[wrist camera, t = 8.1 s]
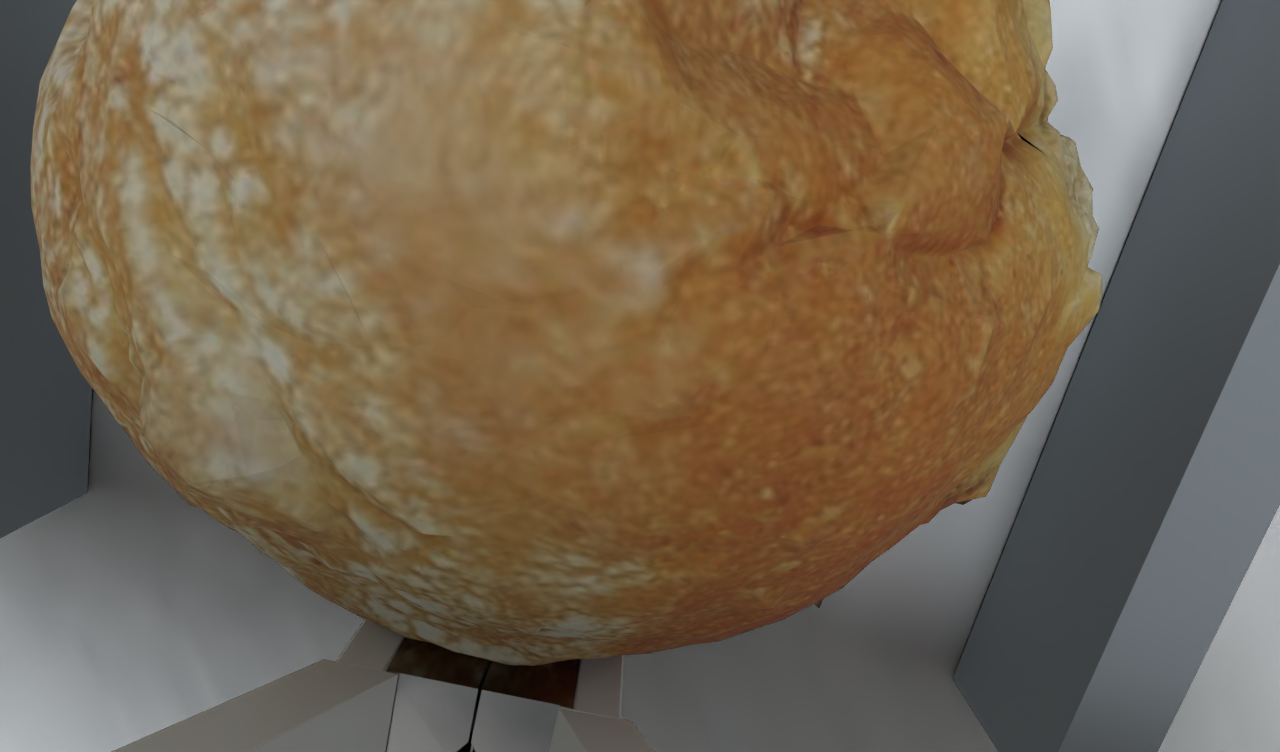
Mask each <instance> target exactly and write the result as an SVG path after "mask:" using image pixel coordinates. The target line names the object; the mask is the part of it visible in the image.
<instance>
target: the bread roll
mask: <svg viewBox="0 0 1280 752" xmlns="http://www.w3.org/2000/svg"><path fill="white" fill-rule="evenodd" d="M1052 48H1053V47H1052V28H1051V10H1050V2H1049V0H77V1H76V3H75V4H74V6H73V7H72V10H71V12H70V14H69V16H68V18H67V21H66V23H65V25H64V27H63V29H62V32H61V34H60V36H59V38H58V41H57V43H56V45H55V48H54V50H53V52H52V55H51V57H50V59H49V62H48V64H47V66H46V69H45V71H44V73H43V75H42V78H41V80H40V84H39V91H38V98H37V105H36V112H35V119H34V126H33V137H32V151H31V165H30V171H31V207H32V212H33V217H34V223H35V228H36V233H37V238H38V243H39V248H40V257H41V268H42V278H43V286H44V290H45V294H46V298H47V302H48V305H49V309H50V313H51V317H52V319H53V321H54V323H55V325H56V327H57V329H58V331H59V333H60V335H61V337H62V338H63V340H64V342H65V344H66V346H67V348H68V350H69V352H70V354H71V356H72V358H73V359H74V361H75V363H76V365H77V367H78V369H79V371H80V372H81V374H82V375H83V376H84V378H85V379H86V380H87V382H88V383H89V384H90V386H91V387H92V388H93V390H94V391H95V392H96V394H97V395H98V396H99V398H100V399H101V400H102V402H103V403H104V404H105V406H106V407H107V409H108V410H109V411H110V413H111V414H112V415H113V417H114V418H115V419H116V421H117V422H118V423H119V424H120V425H121V426H122V427H123V428H124V430H125V431H126V433H127V434H128V436H129V437H130V439H131V440H132V442H133V443H134V444H135V446H136V447H137V449H138V450H139V452H140V453H141V455H142V456H143V458H144V459H145V460H146V461H147V462H148V463H149V464H150V465H151V466H152V467H153V468H154V469H155V470H156V471H157V472H158V473H159V474H160V475H161V476H162V477H163V478H164V479H165V480H166V481H167V482H168V483H169V484H170V485H171V486H172V487H173V488H174V489H175V490H176V491H177V492H178V493H179V494H180V495H181V496H182V497H183V498H184V499H185V500H186V501H187V502H188V503H189V504H190V505H192V506H195V507H198V508H201V509H202V510H204V511H205V512H206V513H208V514H209V515H211V516H212V517H214V518H215V519H216V520H218V521H219V522H221V523H222V524H224V525H225V526H227V527H229V528H231V529H233V530H235V531H236V532H238V533H240V534H242V535H243V536H244V537H245V538H246V539H248V540H249V541H250V542H251V543H252V544H253V545H254V546H255V547H257V548H258V549H259V550H260V551H261V552H263V553H264V554H266V555H268V556H269V557H271V558H272V559H273V560H274V561H275V562H277V563H278V564H279V565H280V566H281V567H282V568H283V569H285V570H286V571H287V572H288V573H289V574H290V575H292V576H293V577H294V578H295V579H297V580H298V581H300V582H301V583H302V584H304V585H305V586H306V587H308V588H309V589H311V590H312V591H314V592H316V593H317V594H319V595H321V596H322V597H324V598H326V599H328V600H330V601H332V602H334V603H336V604H337V605H339V606H341V607H343V608H345V609H347V610H349V611H351V612H353V613H354V614H356V615H358V616H361V617H363V618H365V619H367V620H369V621H372V622H374V623H376V624H378V625H381V626H383V627H385V628H387V629H389V630H391V631H393V632H395V633H397V634H399V635H401V636H403V637H405V638H410V639H415V640H420V641H425V642H430V643H434V644H436V645H439V646H441V647H444V648H446V649H449V650H451V651H454V652H458V653H462V654H467V655H471V656H475V657H479V658H483V659H487V660H491V661H495V662H499V663H503V664H506V665H530V666H536V665H542V664H547V663H553V662H559V661H565V660H572V659H594V658H606V657H612V656H619V655H635V654H649V653H654V652H658V651H663V650H667V649H672V648H677V647H682V646H687V645H693V644H701V643H709V642H717V641H720V640H723V639H726V638H729V637H732V636H735V635H738V634H741V633H744V632H747V631H750V630H753V629H756V628H759V627H762V626H765V625H768V624H771V623H774V622H777V621H780V620H783V619H785V618H787V617H789V616H791V615H793V614H795V613H797V612H798V611H800V610H802V609H804V608H807V607H809V606H810V605H812V604H814V605H816V606H817V607H818V608H819V607H820V605H821V603H822V600H823V598H825V597H827V596H829V595H831V594H832V593H834V592H836V591H838V590H839V589H841V588H843V587H844V586H845V585H846V584H847V583H848V582H849V581H851V580H852V579H853V578H854V577H855V576H856V575H857V574H858V573H859V572H860V571H862V570H863V569H864V568H865V567H866V566H867V565H868V564H869V563H870V562H872V561H873V560H875V559H876V558H877V557H879V556H880V555H882V554H883V553H884V552H886V551H887V550H889V549H890V548H891V547H893V546H894V545H895V544H896V543H898V542H899V541H900V540H901V539H903V538H904V537H905V536H906V535H908V534H909V533H910V532H911V531H913V530H914V529H915V528H917V527H918V526H919V525H921V524H925V523H929V521H930V520H931V519H932V518H933V517H934V516H935V515H936V514H937V513H938V512H939V511H940V510H942V509H944V508H946V507H948V506H950V505H952V504H953V503H957V504H962V505H964V504H965V503H967V502H969V501H971V500H972V499H977V498H981V497H985V496H986V495H987V493H988V492H989V490H990V488H991V486H992V483H993V481H994V478H995V476H996V474H997V471H998V469H999V466H1000V464H1001V462H1002V460H1003V459H1004V457H1005V455H1006V453H1007V452H1008V450H1009V448H1010V447H1011V445H1012V443H1013V441H1014V440H1015V438H1016V436H1017V434H1018V432H1019V430H1020V428H1021V426H1022V424H1023V423H1024V421H1025V419H1026V417H1027V415H1028V414H1029V413H1030V412H1031V411H1032V410H1033V409H1034V407H1035V406H1036V405H1037V403H1038V402H1039V401H1040V399H1041V398H1042V397H1043V395H1044V394H1045V393H1046V391H1047V390H1048V388H1049V387H1050V386H1051V384H1052V383H1053V381H1054V378H1055V376H1056V373H1057V371H1058V369H1059V366H1060V364H1061V362H1062V359H1063V357H1064V355H1065V352H1066V350H1067V348H1068V346H1069V345H1070V344H1071V343H1072V342H1073V340H1074V339H1075V338H1076V337H1077V336H1078V335H1079V333H1080V332H1081V331H1082V330H1083V329H1084V328H1085V326H1086V325H1087V324H1088V323H1089V322H1090V321H1091V319H1092V318H1093V317H1094V316H1095V315H1096V314H1097V312H1098V311H1099V307H1100V302H1101V297H1102V275H1100V274H1098V273H1097V272H1095V271H1093V270H1091V269H1089V268H1087V266H1088V263H1089V261H1090V258H1091V255H1092V251H1093V248H1094V244H1095V240H1096V237H1097V233H1098V230H1099V228H1098V226H1097V224H1096V222H1095V220H1094V218H1093V216H1092V191H1093V188H1092V186H1091V184H1090V182H1089V181H1088V179H1087V177H1086V175H1085V173H1084V172H1083V170H1082V168H1081V166H1080V161H1079V157H1078V152H1077V148H1076V143H1075V142H1074V141H1073V140H1072V139H1071V138H1069V137H1066V136H1063V135H1060V132H1059V131H1057V130H1056V129H1055V128H1054V127H1053V126H1051V125H1050V124H1049V123H1048V122H1047V120H1048V115H1049V114H1050V112H1051V111H1052V109H1053V107H1054V106H1055V104H1056V102H1057V101H1058V98H1057V92H1056V87H1055V84H1054V82H1053V81H1052V79H1051V78H1050V76H1049V74H1048V73H1047V71H1046V70H1045V66H1046V64H1047V61H1048V58H1049V56H1050V53H1051V51H1052Z"/></svg>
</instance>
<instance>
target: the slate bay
mask: <svg viewBox="0 0 1280 752" xmlns="http://www.w3.org/2000/svg"><path fill="white" fill-rule="evenodd" d="M76 1H77V0H0V538H2V537H3V536H5V535H7V534H9V533H11V532H13V531H15V530H17V529H19V528H21V527H23V526H24V525H26V524H28V523H30V522H32V521H34V520H36V519H38V518H40V517H42V516H44V515H45V514H47V513H49V512H51V511H53V510H55V509H57V508H59V507H61V506H63V505H65V504H66V503H68V502H70V501H72V500H74V499H76V498H78V497H80V496H82V495H84V494H86V493H87V486H88V465H89V443H90V421H91V400H92V387H91V386H90V384H89V383H88V382H87V380H86V379H85V378H84V376H83V375H82V374H81V372H80V371H79V369H78V367H77V365H76V363H75V361H74V359H73V358H72V356H71V354H70V352H69V350H68V348H67V346H66V344H65V342H64V340H63V338H62V337H61V335H60V333H59V331H58V329H57V327H56V325H55V323H54V321H53V319H52V317H51V313H50V309H49V305H48V302H47V298H46V294H45V290H44V286H43V278H42V268H41V257H40V248H39V243H38V238H37V233H36V228H35V223H34V217H33V212H32V207H31V171H30V165H31V151H32V137H33V126H34V119H35V112H36V105H37V98H38V91H39V84H40V80H41V78H42V75H43V73H44V71H45V69H46V66H47V64H48V62H49V59H50V57H51V55H52V52H53V50H54V48H55V45H56V43H57V41H58V38H59V36H60V34H61V32H62V29H63V27H64V25H65V23H66V21H67V18H68V16H69V14H70V12H71V10H72V7H73V6H74V4H75V3H76ZM1279 505H1280V0H1222V3H1221V5H1220V8H1219V10H1218V13H1217V15H1216V18H1215V20H1214V23H1213V25H1212V28H1211V30H1210V33H1209V35H1208V38H1207V40H1206V43H1205V45H1204V48H1203V51H1202V53H1201V56H1200V58H1199V61H1198V63H1197V66H1196V68H1195V71H1194V73H1193V76H1192V78H1191V81H1190V83H1189V86H1188V88H1187V91H1186V93H1185V96H1184V98H1183V101H1182V103H1181V106H1180V108H1179V111H1178V113H1177V116H1176V118H1175V121H1174V123H1173V126H1172V128H1171V131H1170V133H1169V136H1168V139H1167V141H1166V144H1165V146H1164V149H1163V151H1162V154H1161V156H1160V159H1159V161H1158V164H1157V166H1156V169H1155V171H1154V174H1153V176H1152V179H1151V181H1150V184H1149V186H1148V189H1147V191H1146V194H1145V196H1144V199H1143V201H1142V204H1141V206H1140V209H1139V211H1138V214H1137V216H1136V219H1135V221H1134V224H1133V227H1132V229H1131V232H1130V234H1129V237H1128V239H1127V242H1126V244H1125V247H1124V249H1123V252H1122V254H1121V257H1120V259H1119V262H1118V264H1117V267H1116V269H1115V272H1114V274H1113V277H1112V279H1111V282H1110V284H1109V287H1108V289H1107V292H1106V294H1105V297H1104V299H1103V302H1102V304H1101V307H1100V309H1099V312H1098V315H1097V317H1096V320H1095V322H1094V325H1093V327H1092V330H1091V332H1090V335H1089V337H1088V340H1087V342H1086V345H1085V347H1084V350H1083V352H1082V355H1081V357H1080V360H1079V362H1078V365H1077V367H1076V370H1075V372H1074V375H1073V377H1072V380H1071V382H1070V385H1069V387H1068V390H1067V392H1066V395H1065V398H1064V400H1063V403H1062V405H1061V408H1060V410H1059V413H1058V415H1057V418H1056V420H1055V423H1054V425H1053V428H1052V430H1051V433H1050V435H1049V438H1048V440H1047V443H1046V445H1045V448H1044V450H1043V453H1042V455H1041V458H1040V460H1039V463H1038V465H1037V468H1036V470H1035V473H1034V475H1033V478H1032V480H1031V483H1030V486H1029V488H1028V491H1027V493H1026V496H1025V498H1024V501H1023V503H1022V506H1021V508H1020V511H1019V513H1018V516H1017V518H1016V521H1015V523H1014V526H1013V528H1012V531H1011V533H1010V536H1009V538H1008V541H1007V543H1006V546H1005V548H1004V551H1003V553H1002V556H1001V558H1000V561H999V563H998V566H997V568H996V571H995V574H994V576H993V579H992V581H991V584H990V586H989V589H988V591H987V594H986V596H985V599H984V601H983V604H982V606H981V609H980V611H979V614H978V616H977V619H976V621H975V624H974V626H973V629H972V631H971V634H970V636H969V639H968V641H967V644H966V646H965V649H964V651H963V654H962V656H961V659H960V662H959V664H958V667H957V669H956V672H955V674H954V677H953V681H954V682H955V684H956V685H957V687H958V689H959V690H960V692H961V693H962V695H963V696H964V698H965V700H966V701H967V703H968V704H969V706H970V707H971V709H972V711H973V712H974V714H975V715H976V717H977V719H978V720H979V722H980V723H981V725H982V726H983V728H984V730H985V731H986V733H987V734H988V736H989V738H990V739H991V741H992V742H993V744H994V745H995V747H996V749H997V750H998V752H1158V750H1159V748H1160V746H1161V744H1162V742H1163V740H1164V738H1165V736H1166V734H1167V732H1168V730H1169V728H1170V725H1171V723H1172V721H1173V719H1174V717H1175V715H1176V713H1177V711H1178V709H1179V707H1180V705H1181V703H1182V701H1183V699H1184V697H1185V695H1186V693H1187V691H1188V689H1189V687H1190V685H1191V683H1192V681H1193V679H1194V677H1195V675H1196V673H1197V671H1198V669H1199V667H1200V665H1201V663H1202V661H1203V659H1204V657H1205V655H1206V653H1207V651H1208V649H1209V647H1210V645H1211V643H1212V641H1213V639H1214V637H1215V635H1216V632H1217V630H1218V628H1219V626H1220V624H1221V622H1222V620H1223V618H1224V616H1225V614H1226V612H1227V610H1228V608H1229V606H1230V604H1231V602H1232V600H1233V598H1234V596H1235V594H1236V592H1237V590H1238V588H1239V586H1240V584H1241V582H1242V580H1243V578H1244V576H1245V574H1246V572H1247V570H1248V568H1249V566H1250V564H1251V562H1252V560H1253V558H1254V556H1255V554H1256V552H1257V550H1258V548H1259V546H1260V544H1261V542H1262V540H1263V537H1264V535H1265V533H1266V531H1267V529H1268V527H1269V525H1270V523H1271V521H1272V519H1273V517H1274V515H1275V513H1276V511H1277V509H1278V507H1279Z"/></svg>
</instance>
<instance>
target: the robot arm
mask: <svg viewBox="0 0 1280 752" xmlns="http://www.w3.org/2000/svg"><path fill="white" fill-rule="evenodd" d="M623 669H624V655H619V656H612V657H606V658H594V659H572V660H565V661H559V662H553V663H547V664H542V665H536V666H530V665H506V664H503V663H499V662H495V661H491V660H487V659H483V658H479V657H475V656H471V655H467V654H462V653H458V652H454V651H451V650H449V649H446V648H444V647H441V646H439V645H436V644H434V643H430V642H425V641H420V640H415V639H410V638H405V637H403V636H401V635H399V634H397V633H395V632H393V631H391V630H389V629H387V628H385V627H383V626H381V625H378V624H376V623H374V622H372V621H369V620H367V619H365V620H364V621H363V622H362V624H361V625H360V627H359V628H358V630H357V631H356V633H355V634H354V636H353V637H352V639H351V640H350V642H349V643H348V644H347V646H346V647H345V649H344V650H343V652H342V653H341V655H340V656H339V658H338V659H337V661H336V662H335V661H330V660H321V661H319V662H317V663H314V664H312V665H310V666H307V667H305V668H303V669H300V670H298V671H296V672H294V673H291V674H289V675H287V676H284V677H282V678H280V679H277V680H275V681H273V682H271V683H268V684H266V685H264V686H261V687H259V688H257V689H254V690H252V691H250V692H248V693H245V694H243V695H241V696H238V697H236V698H234V699H231V700H229V701H227V702H225V703H222V704H220V705H218V706H215V707H213V708H211V709H208V710H206V711H204V712H202V713H199V714H197V715H195V716H192V717H190V718H188V719H185V720H183V721H181V722H179V723H176V724H174V725H172V726H169V727H167V728H165V729H162V730H160V731H158V732H156V733H153V734H151V735H149V736H146V737H144V738H142V739H139V740H137V741H135V742H133V743H130V744H128V745H126V746H123V747H121V748H119V749H116V750H114V751H112V752H655V751H654V750H653V748H652V747H651V746H650V744H649V743H648V742H647V740H646V739H645V738H644V736H643V735H642V734H641V732H640V731H639V730H638V728H637V727H636V725H635V724H634V723H633V722H632V721H628V720H623V719H621V710H622V690H623Z"/></svg>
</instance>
